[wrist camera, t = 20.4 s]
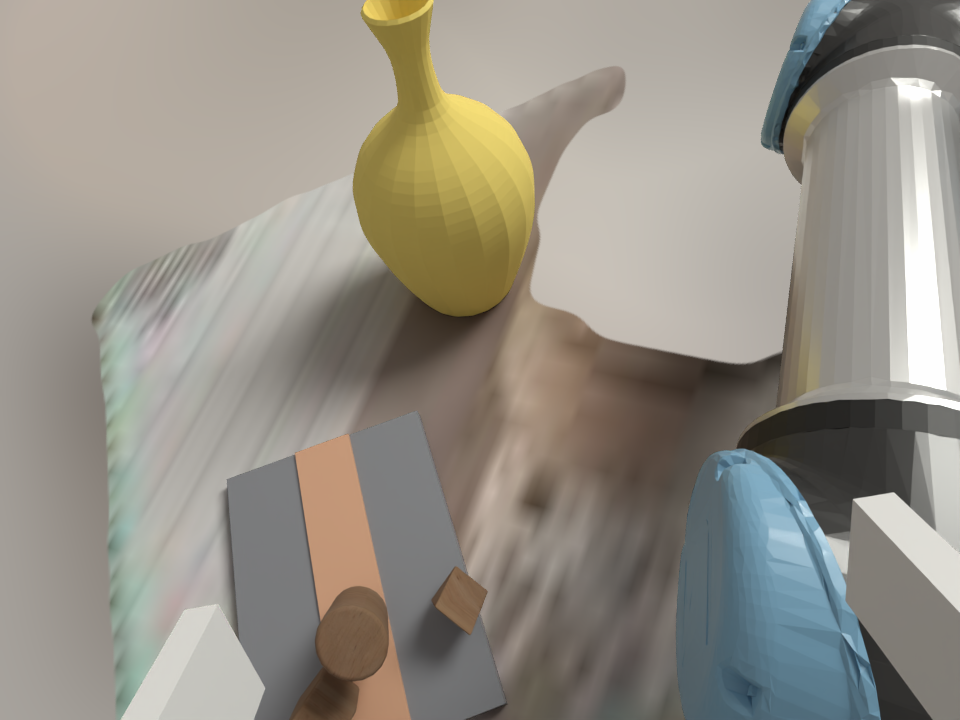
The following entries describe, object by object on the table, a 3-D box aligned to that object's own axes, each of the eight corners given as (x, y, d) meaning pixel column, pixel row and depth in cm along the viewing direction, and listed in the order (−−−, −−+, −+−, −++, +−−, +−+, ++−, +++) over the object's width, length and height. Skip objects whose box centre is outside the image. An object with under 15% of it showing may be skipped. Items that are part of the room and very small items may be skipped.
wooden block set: (326, 820, 38) (305, 924, 28) (227, 738, 38) (173, 813, 29) (484, 588, 44) (512, 608, 34) (396, 518, 44) (399, 518, 34)
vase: (364, 285, 62) (234, 24, 38) (470, 203, 66) (412, -76, 43) (461, 369, 54) (374, 109, 31) (574, 270, 59) (572, -24, 35)
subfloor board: (420, 416, 52) (416, 408, 51) (507, 703, 39) (504, 703, 38) (233, 483, 51) (225, 478, 50) (260, 800, 38) (249, 804, 37)
